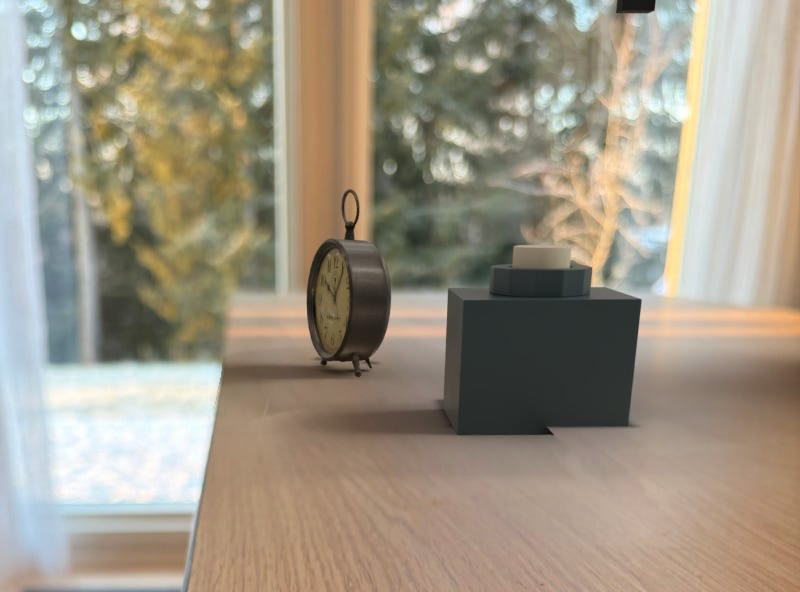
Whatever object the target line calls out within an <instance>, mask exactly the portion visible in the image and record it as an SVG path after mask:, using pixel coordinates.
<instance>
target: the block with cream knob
mask: <svg viewBox="0 0 800 592" xmlns="http://www.w3.org/2000/svg"><path fill="white" fill-rule="evenodd" d="M512 265H513V263H507V264H495V265H491V266H490V269H489V271H490V272H489V287H448V288H447V303H446V304H447V305H446V327H445V352H444V353H445V355H444V375H443V376H444V377H443V378H444V379H443V402H442V404H443V405H442V409H443V411H444V413H445V415H446V417H447V419H448V421H449V423H450V425H451V426H452V428H453V430H454V432H455V434H456V435H457V436H554V435H555V434H554V433H553V432H552V430H550V428H548V427H629V422H630V413H631V403H632V393H633V387H634V386H633V384H634V375H635V366H636V357H637V356H636V355H637V350H638V349H637V348H638V339H639V329H640V322H641V321H640V320H641V312H642V311H641V310H642V302H643V299H642V298H639V297H637V296H634V295H630V294H627V293H624V292H621V291H618V290H616V289H612V288H610V287H606V286H592V277H593V266H591V265H590V266H589V265H584V264H571V263H570V268H557V269H535V268H513V267H512Z"/></svg>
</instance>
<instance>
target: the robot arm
mask: <svg viewBox="0 0 800 592" xmlns="http://www.w3.org/2000/svg"><path fill="white" fill-rule="evenodd" d="M656 3H657V0H616V9H615V10H616V11H615V14H651V13H652V12H655V11H656Z"/></svg>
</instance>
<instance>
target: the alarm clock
mask: <svg viewBox="0 0 800 592" xmlns="http://www.w3.org/2000/svg"><path fill="white" fill-rule="evenodd" d="M349 194H352V196H353V198H354V201H355V204H356V213H355V218H354V221H352V220H349V221H348V220H347V217H346V211H345V210H346V209H345V207H346V205H345V204H346V200H347V196H348V195H349ZM360 206H361V205H360V199H359V196H358V194H357V192H356V191H355V190H354V189H352V188H348V189H346V190H345V191H344V193H343V195H342V198H341V209H340V210H341V215H342V220H343V222H344V228H345V233H344V238H342V239H341V238H340V239H338V238H332V237H331V238H327V239H325V240H324V241H323V242H322V243H321V244H320V246H319V247H318V248H317V250H316V252H315V254H314V255H313V259H312V261H311V265H310V268H309V274H308V279H307V286H306V318H307V328H308V331H309V336H310V341H311V343H312V345H313V348H314V350H315V351H316V353H317V355H318V356H319V357H320V358H321V361H320V365H321V366H323V367H325V366H327V365H328V362H341V363H345V362H351V363H352V366H353V368H354V376H355V377H357V378H360V377H361V376H362V373H363V372H362V371H361V368H360V362H363V361H365V363H366V364H367V366H368V367H369V369H373V365H372V363H371V360H370V358H371V357H372V356H374V355H375V354H376V352H377V351H378V350H379V348H380V347H381V345H382V343H383V342H384V339H385V337H386V333H387V330H388V326H389V322H390V316H391V309H392V285H391V277H390V273H389V268H388V265H387V263H386V260H385V258H384V256H383V254H382V252H381V251H380V249H379V248H378V247H377V246H376V245H375V244H374V243H372V242H370V241H368V240H364V239H363V240H362V239H355V228H356V225H357V223H358V221H359V218H360V209H361V208H360Z"/></svg>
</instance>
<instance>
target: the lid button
mask: <svg viewBox="0 0 800 592" xmlns="http://www.w3.org/2000/svg"><path fill="white" fill-rule="evenodd" d="M512 250H513V251H512V264H513V265H512V267H513V268H535V269H557V268H570V264H571V256H572V245H563V244H522V245H521V244H519V245H514V246H513V248H512Z"/></svg>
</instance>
